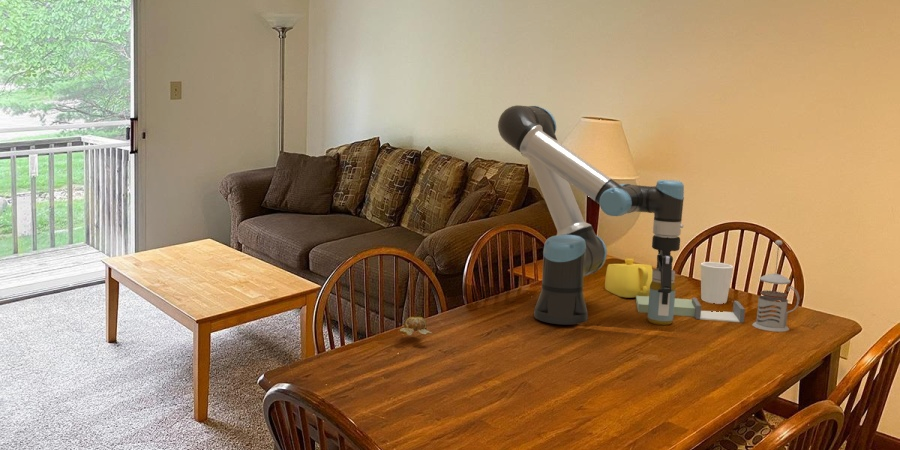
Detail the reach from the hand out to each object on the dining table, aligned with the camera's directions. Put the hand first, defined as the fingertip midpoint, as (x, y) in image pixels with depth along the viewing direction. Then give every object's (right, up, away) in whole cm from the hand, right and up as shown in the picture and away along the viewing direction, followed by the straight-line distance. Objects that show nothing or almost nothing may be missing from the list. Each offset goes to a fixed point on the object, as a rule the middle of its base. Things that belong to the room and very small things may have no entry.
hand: (660, 309), depth 224 cm
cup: (+24, -1, +26) cm, 35 cm away
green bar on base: (+12, -2, +13) cm, 18 cm away
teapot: (-2, +1, +31) cm, 31 cm away
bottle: (0, -4, +1) cm, 4 cm away
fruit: (-67, -6, -23) cm, 71 cm away
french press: (+32, -5, 0) cm, 32 cm away
